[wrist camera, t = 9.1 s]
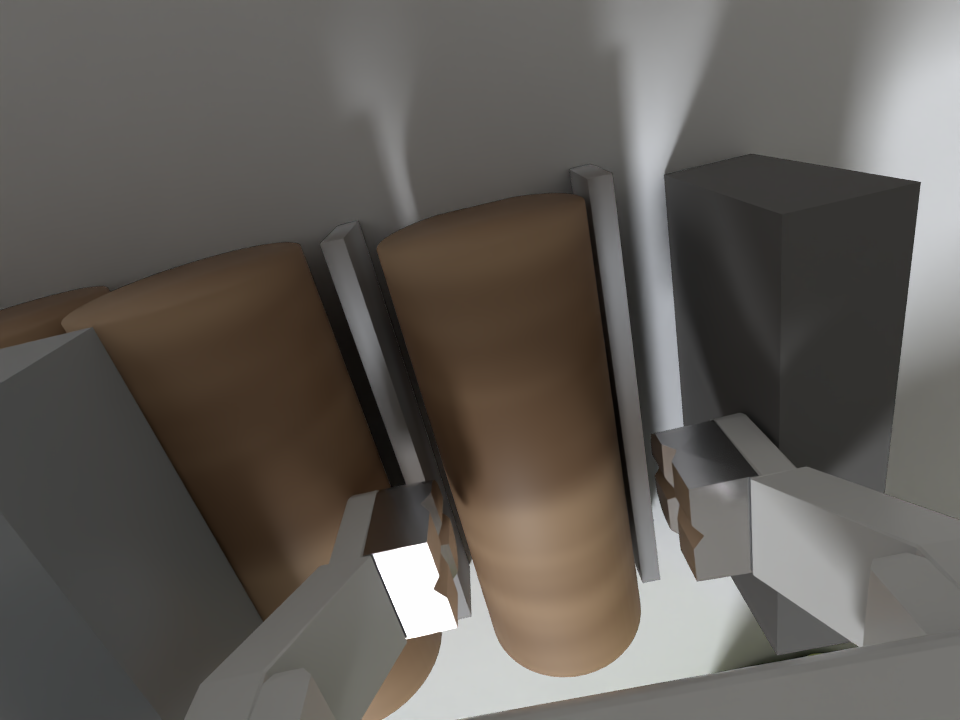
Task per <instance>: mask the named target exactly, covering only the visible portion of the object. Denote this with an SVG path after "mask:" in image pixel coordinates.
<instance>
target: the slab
mask: <svg viewBox="0 0 960 720" xmlns="http://www.w3.org/2000/svg"><path fill="white" fill-rule="evenodd" d="M262 623H263V620H262V619H261V617H260V615H259V614H258V612H257V610H256V608H255V607H254V605H253V603H252V601H251V600H250V598H249V596H248V595H247V593H246V591H245V589H244V588H243V586H242V584H241V582H240V581H239V579H238V577H237V576H236V574H235V572H234V570H233V569H232V567H231V565H230V563H229V562H228V560H227V558H226V557H225V555H224V553H223V551H222V550H221V548H220V546H219V544H218V543H217V541H216V539H215V538H214V536H213V534H212V532H211V531H210V529H209V527H208V525H207V524H206V522H205V520H204V519H203V517H202V515H201V513H200V512H199V510H198V508H197V506H196V505H195V503H194V501H193V500H192V498H191V496H190V494H189V493H188V491H187V489H186V487H185V486H184V484H183V482H182V481H181V479H180V477H179V475H178V474H177V472H176V470H175V468H174V467H173V465H172V463H171V462H170V460H169V458H168V456H167V455H166V453H165V451H164V449H163V448H162V446H161V444H160V443H159V441H158V439H157V437H156V436H155V434H154V432H153V430H152V429H151V427H150V425H149V424H148V422H147V420H146V418H145V417H144V415H143V413H142V411H141V410H140V408H139V406H138V404H137V403H136V401H135V399H134V398H133V396H132V394H131V392H130V391H129V389H128V387H127V385H126V384H125V382H124V380H123V379H122V377H121V375H120V373H119V372H118V370H117V368H116V366H115V365H114V363H113V361H112V360H111V358H110V356H109V354H108V353H107V351H106V349H105V347H104V346H103V344H102V342H101V341H100V339H99V337H98V335H97V334H96V332H95V330H94V328H93V327H90V328H86V329H82V330H78V331H73V332H69V333H65V334H61V335H57V336H53V337H48V338H44V339H40V340H36V341H32V342H27V343H23V344H19V345H15V346H11V347H6V348H2V349H0V720H184V718H185V716H186V714H187V712H188V710H189V708H190V705H191V703H192V701H193V699H194V697H195V695H196V692H197V690H198V688H199V686H200V684H201V683H202V682H203V681H204V680H205V679H206V678H207V677H208V676H209V675H210V674H211V673H212V672H213V671H214V670H215V669H216V668H217V667H218V666H219V665H220V664H221V663H222V662H223V661H224V660H225V659H227V658H228V657H229V656H230V655H231V654H232V653H233V652H234V651H235V650H236V649H237V648H238V647H239V646H240V645H241V644H242V643H243V642H244V641H245V640H246V639H247V638H248V637H249V636H250V635H251V634H252V633H253V632H254V631H255V630H256V629H257V628H258V627H259V626H260V625H261V624H262Z"/></svg>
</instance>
